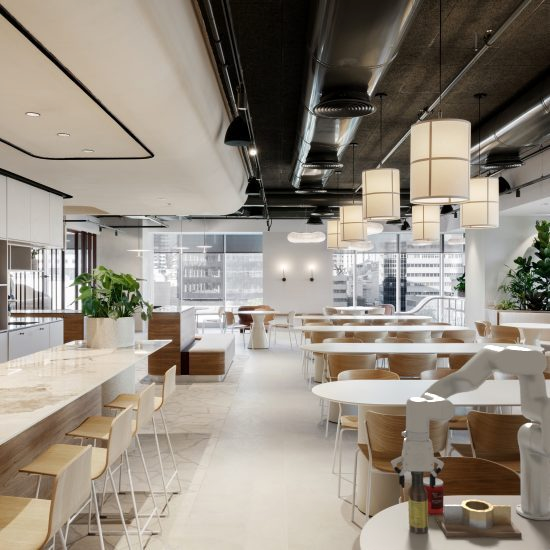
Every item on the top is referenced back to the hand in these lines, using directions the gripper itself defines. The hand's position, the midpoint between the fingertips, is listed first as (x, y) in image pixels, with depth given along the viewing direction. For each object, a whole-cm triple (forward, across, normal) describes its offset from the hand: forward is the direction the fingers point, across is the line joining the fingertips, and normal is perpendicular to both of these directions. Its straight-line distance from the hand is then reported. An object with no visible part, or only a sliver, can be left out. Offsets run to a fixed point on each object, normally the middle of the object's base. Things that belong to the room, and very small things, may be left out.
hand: (417, 486), depth 193 cm
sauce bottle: (+15, +1, 0) cm, 15 cm away
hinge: (+13, +20, +2) cm, 24 cm away
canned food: (+14, +9, +15) cm, 23 cm away
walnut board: (+14, +21, +2) cm, 25 cm away
